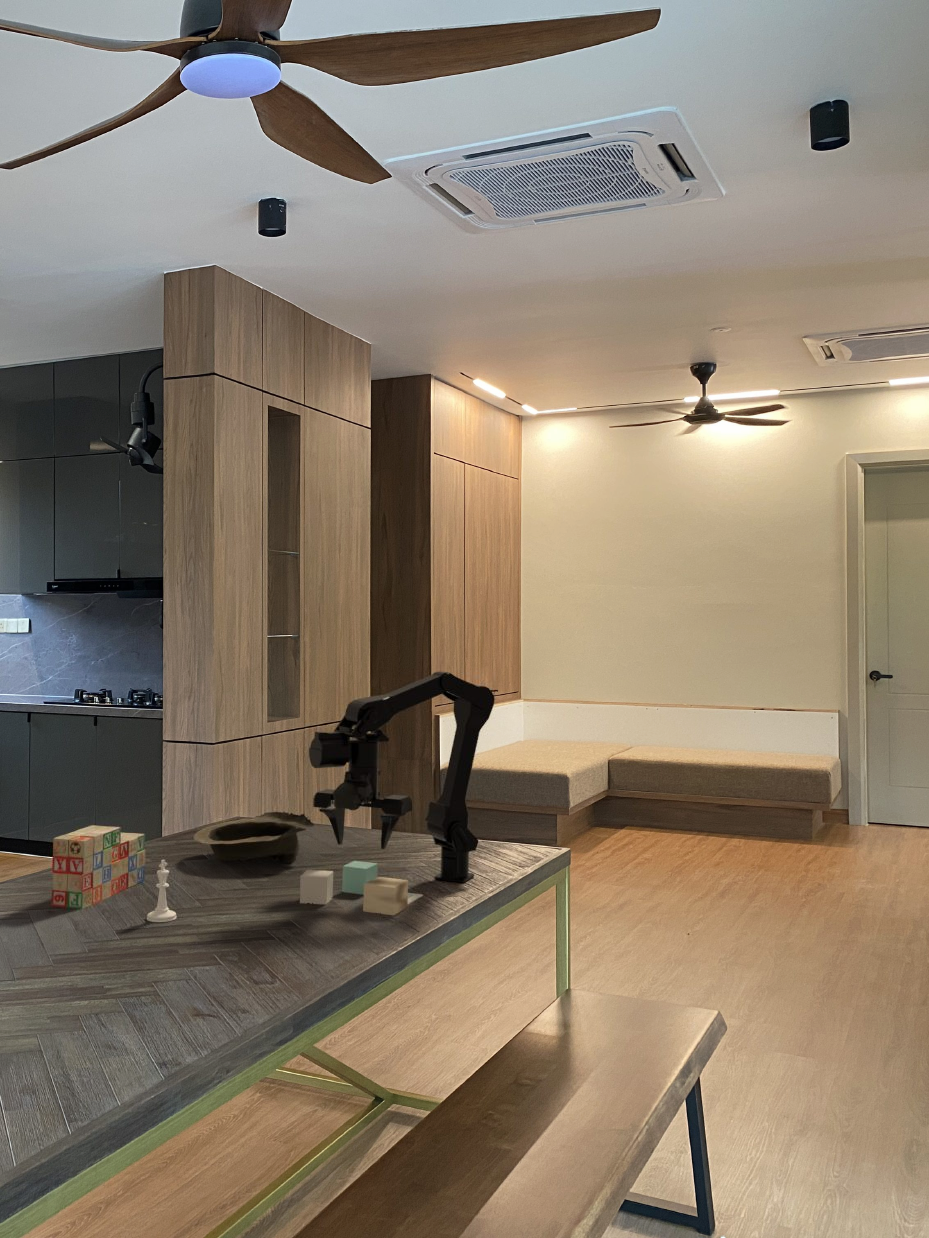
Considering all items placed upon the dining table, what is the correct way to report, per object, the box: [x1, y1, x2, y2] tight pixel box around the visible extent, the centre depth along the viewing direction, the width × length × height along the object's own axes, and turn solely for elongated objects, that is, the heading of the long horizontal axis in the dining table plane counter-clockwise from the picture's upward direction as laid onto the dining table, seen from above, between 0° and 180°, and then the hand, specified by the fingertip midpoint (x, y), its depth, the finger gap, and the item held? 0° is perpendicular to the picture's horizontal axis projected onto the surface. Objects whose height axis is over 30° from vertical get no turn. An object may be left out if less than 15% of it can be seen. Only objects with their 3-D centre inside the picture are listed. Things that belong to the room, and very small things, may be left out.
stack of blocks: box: [51, 824, 146, 910], centre depth 198 cm, size 21×6×12 cm, turn 167°
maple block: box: [362, 876, 409, 916], centre depth 192 cm, size 6×6×5 cm
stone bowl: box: [193, 811, 315, 864], centre depth 228 cm, size 25×25×9 cm
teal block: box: [341, 860, 379, 896], centre depth 205 cm, size 5×5×5 cm
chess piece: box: [146, 859, 177, 923], centre depth 182 cm, size 5×5×10 cm
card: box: [407, 892, 424, 905], centre depth 200 cm, size 7×7×1 cm
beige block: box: [299, 869, 334, 905], centre depth 197 cm, size 5×5×5 cm
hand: (361, 846), depth 205 cm, fingers open, 9 cm apart
